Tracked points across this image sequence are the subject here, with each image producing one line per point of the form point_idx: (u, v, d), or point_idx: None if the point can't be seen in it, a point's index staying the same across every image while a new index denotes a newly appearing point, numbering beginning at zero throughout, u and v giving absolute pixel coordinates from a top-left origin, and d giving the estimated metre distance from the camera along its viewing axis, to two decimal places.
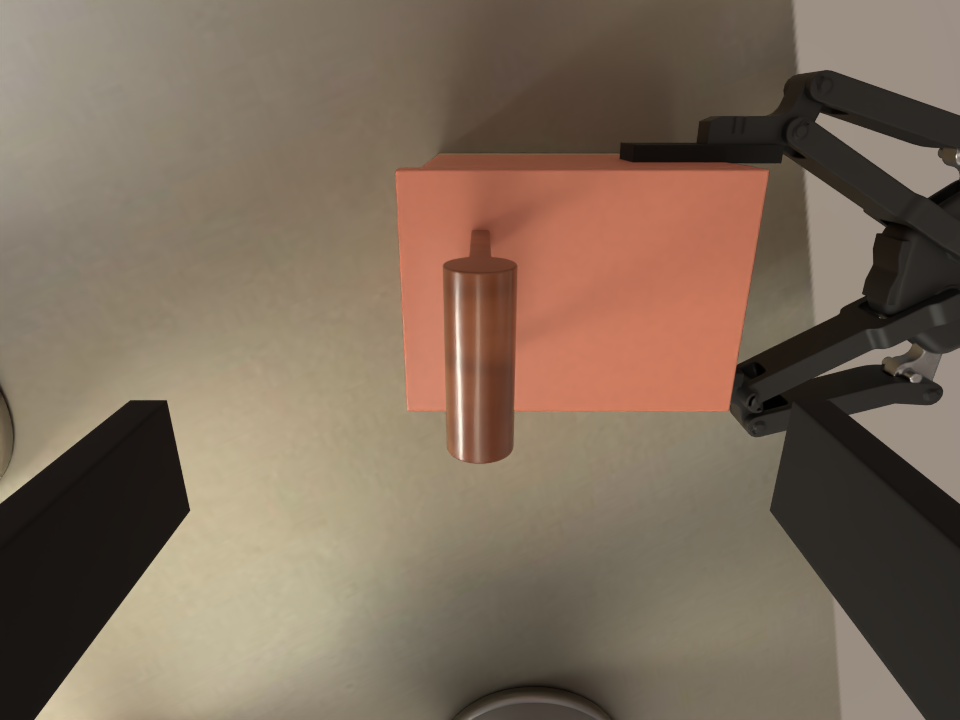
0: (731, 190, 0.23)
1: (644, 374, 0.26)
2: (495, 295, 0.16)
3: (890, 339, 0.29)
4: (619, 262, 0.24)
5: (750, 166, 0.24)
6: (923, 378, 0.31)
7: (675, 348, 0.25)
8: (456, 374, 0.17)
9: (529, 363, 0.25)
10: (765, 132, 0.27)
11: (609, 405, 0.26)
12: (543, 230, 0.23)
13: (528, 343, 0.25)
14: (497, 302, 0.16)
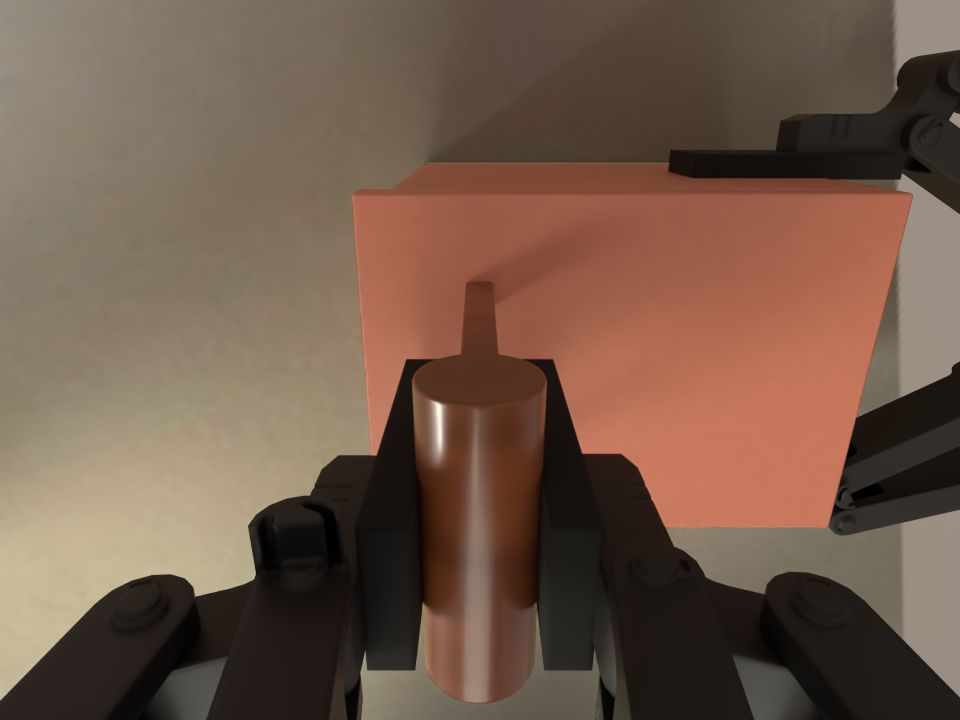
0: (854, 224, 0.15)
1: (712, 479, 0.18)
2: (507, 441, 0.09)
3: None
4: (683, 326, 0.16)
5: (872, 186, 0.16)
6: None
7: (758, 445, 0.18)
8: (437, 566, 0.10)
9: None
10: (877, 136, 0.19)
11: None
12: (572, 282, 0.16)
13: None
14: (511, 453, 0.09)
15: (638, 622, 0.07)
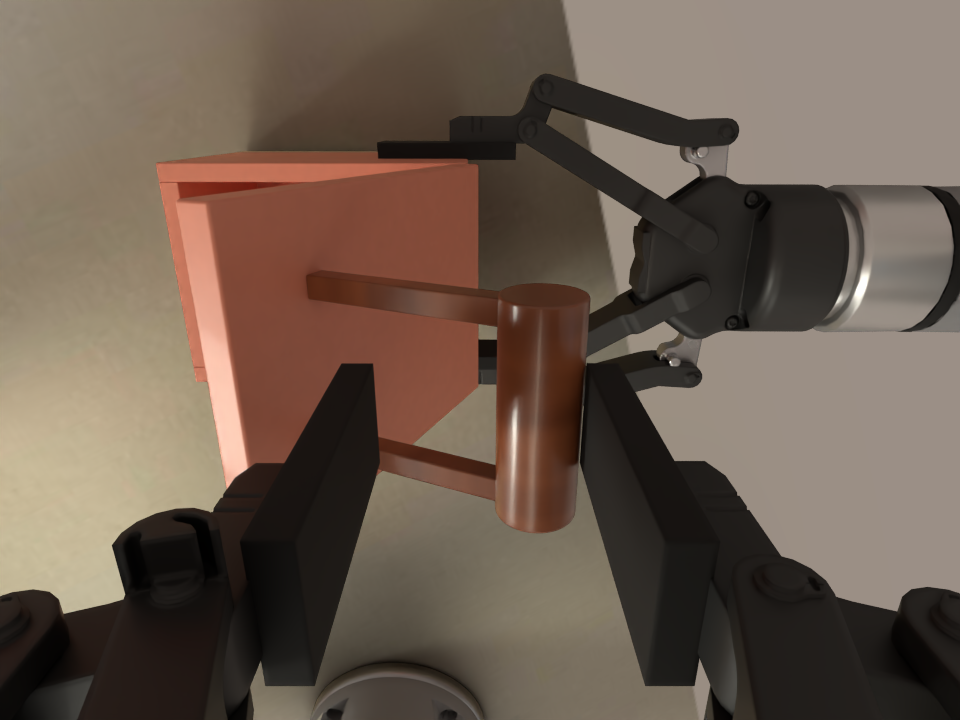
0: (465, 186, 0.24)
1: (439, 382, 0.25)
2: None
3: (640, 325, 0.31)
4: (416, 274, 0.22)
5: (466, 162, 0.26)
6: (686, 362, 0.33)
7: (451, 346, 0.25)
8: (560, 431, 0.14)
9: None
10: (502, 131, 0.29)
11: (423, 428, 0.24)
12: (364, 256, 0.19)
13: None
14: None
15: (763, 636, 0.07)
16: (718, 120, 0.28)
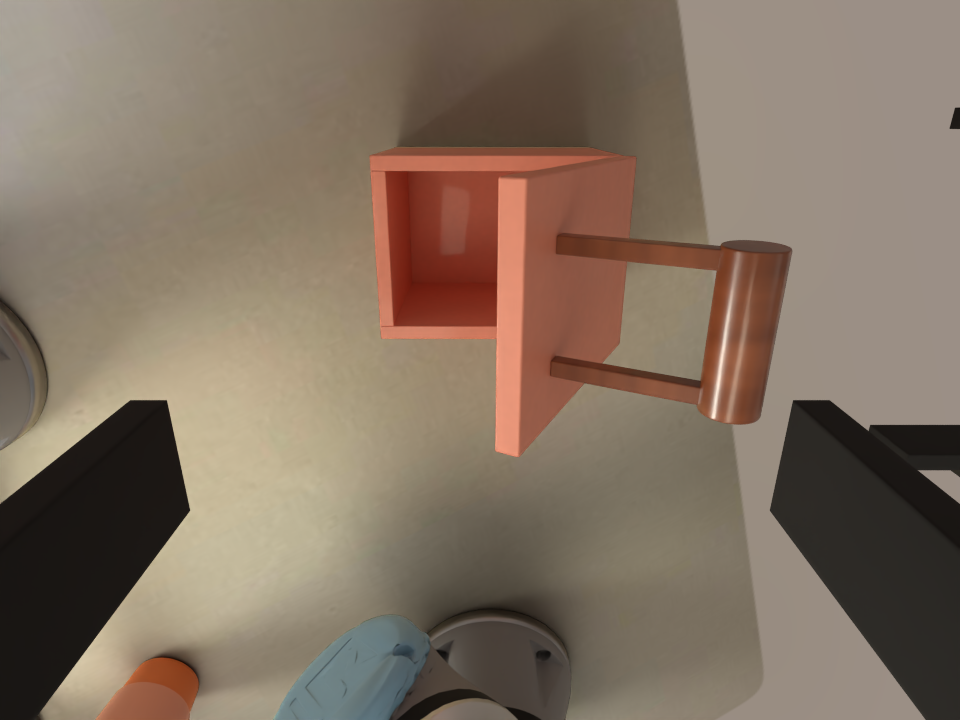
0: (629, 174, 0.29)
1: (602, 334, 0.30)
2: None
3: None
4: None
5: None
6: None
7: (610, 306, 0.31)
8: (764, 346, 0.20)
9: (569, 356, 0.26)
10: None
11: None
12: (580, 225, 0.24)
13: (570, 337, 0.26)
14: None
15: None
16: None
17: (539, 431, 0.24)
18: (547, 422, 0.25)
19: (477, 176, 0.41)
